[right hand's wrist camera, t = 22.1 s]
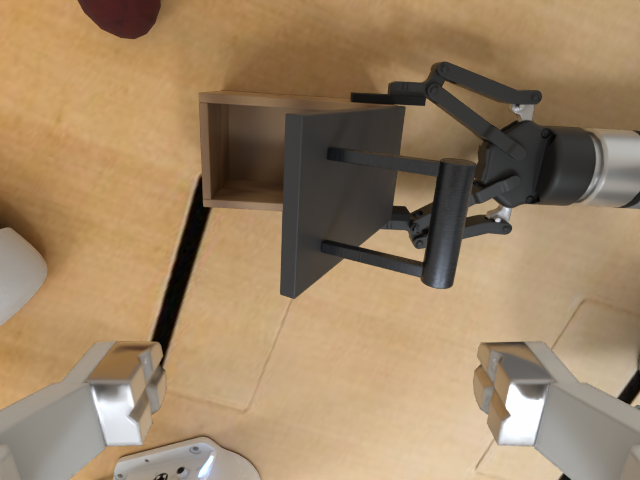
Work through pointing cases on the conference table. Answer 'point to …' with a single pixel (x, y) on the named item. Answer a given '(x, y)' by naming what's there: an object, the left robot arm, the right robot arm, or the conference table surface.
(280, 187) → the chest
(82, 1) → the potato
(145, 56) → the conference table surface
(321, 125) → the lid
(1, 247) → the grey rounded casing
